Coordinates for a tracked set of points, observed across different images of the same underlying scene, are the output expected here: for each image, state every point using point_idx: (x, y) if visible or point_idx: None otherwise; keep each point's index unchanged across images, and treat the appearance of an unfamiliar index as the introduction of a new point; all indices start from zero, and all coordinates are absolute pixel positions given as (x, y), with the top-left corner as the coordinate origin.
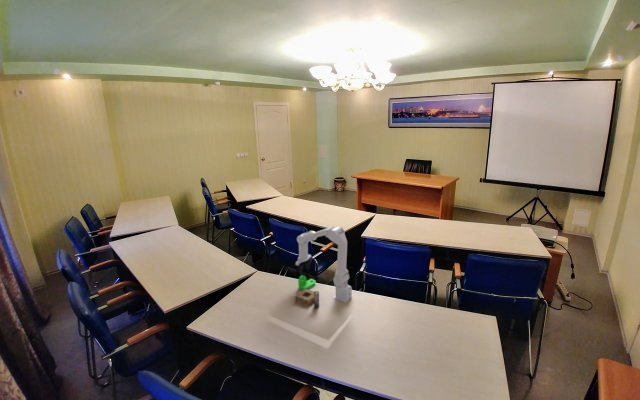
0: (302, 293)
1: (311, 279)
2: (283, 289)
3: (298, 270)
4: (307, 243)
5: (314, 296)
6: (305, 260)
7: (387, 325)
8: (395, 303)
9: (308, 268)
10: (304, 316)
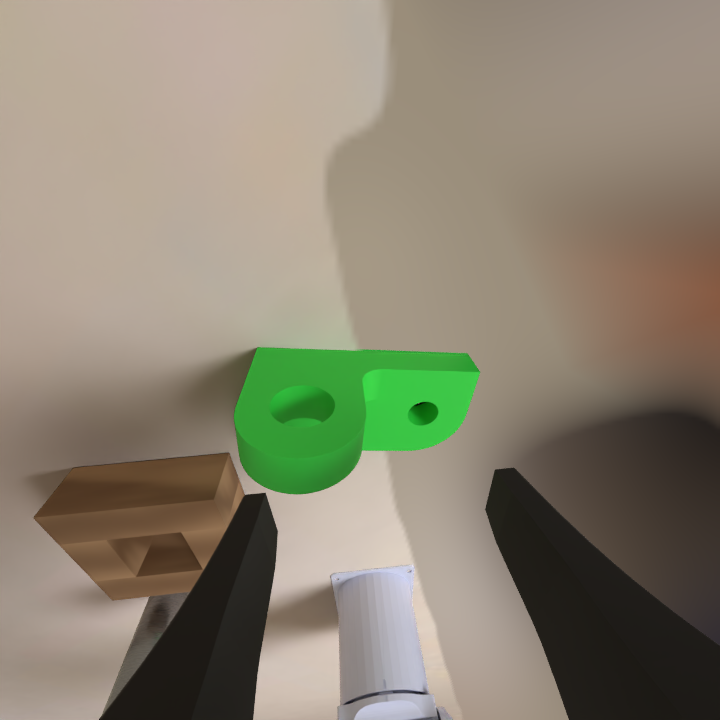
0: (132, 531)
1: (461, 387)
2: (63, 210)
3: (209, 571)
4: None
5: (114, 685)
6: None
7: (303, 703)
8: (445, 679)
9: (495, 534)
10: (44, 583)
